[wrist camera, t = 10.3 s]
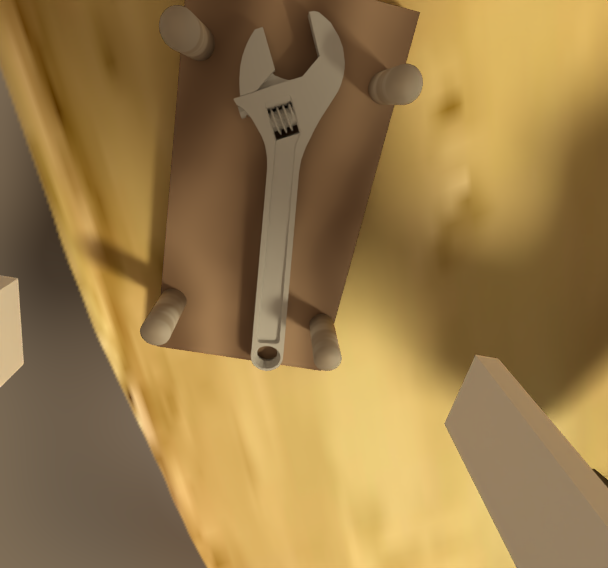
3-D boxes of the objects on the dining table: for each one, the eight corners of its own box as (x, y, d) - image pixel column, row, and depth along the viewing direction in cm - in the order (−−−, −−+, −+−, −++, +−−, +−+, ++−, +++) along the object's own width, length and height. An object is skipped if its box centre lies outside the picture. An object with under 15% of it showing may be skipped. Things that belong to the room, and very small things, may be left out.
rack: (412, 17, 26) (450, -9, 20) (319, 360, 37) (326, 410, 31) (194, -43, 25) (166, -89, 19) (161, 336, 35) (136, 384, 29)
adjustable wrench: (282, 361, 35) (282, 374, 34) (207, 351, 34) (203, 364, 33) (350, 29, 25) (354, 24, 24) (246, 5, 24) (243, -2, 23)
